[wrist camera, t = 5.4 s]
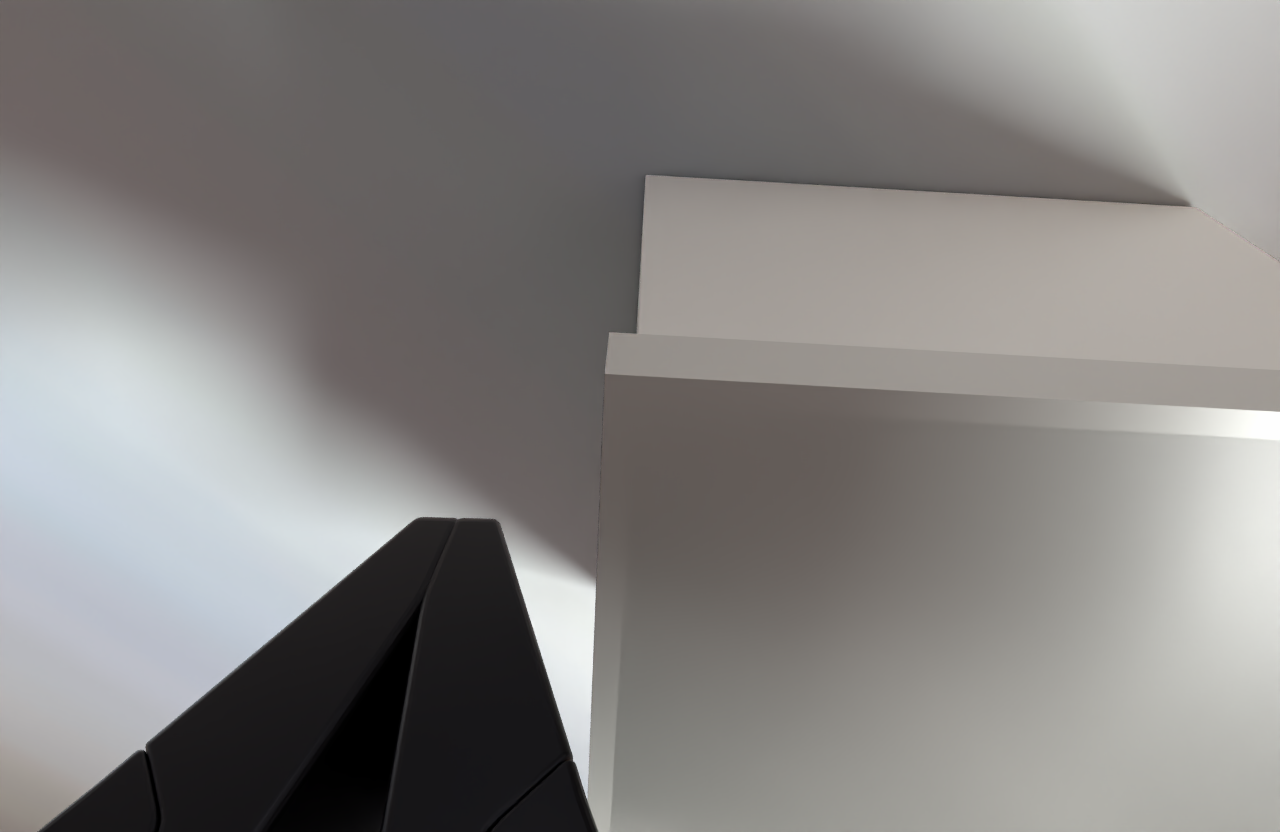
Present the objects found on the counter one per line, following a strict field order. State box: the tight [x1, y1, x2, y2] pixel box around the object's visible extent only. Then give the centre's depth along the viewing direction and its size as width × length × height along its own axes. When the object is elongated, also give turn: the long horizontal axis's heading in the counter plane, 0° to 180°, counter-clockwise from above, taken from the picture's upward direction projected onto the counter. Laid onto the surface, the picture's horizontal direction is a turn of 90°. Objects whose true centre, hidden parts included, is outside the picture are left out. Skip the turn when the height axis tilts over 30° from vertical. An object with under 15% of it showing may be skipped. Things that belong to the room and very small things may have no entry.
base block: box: [588, 175, 1280, 832], centre depth 10 cm, size 6×6×5 cm
